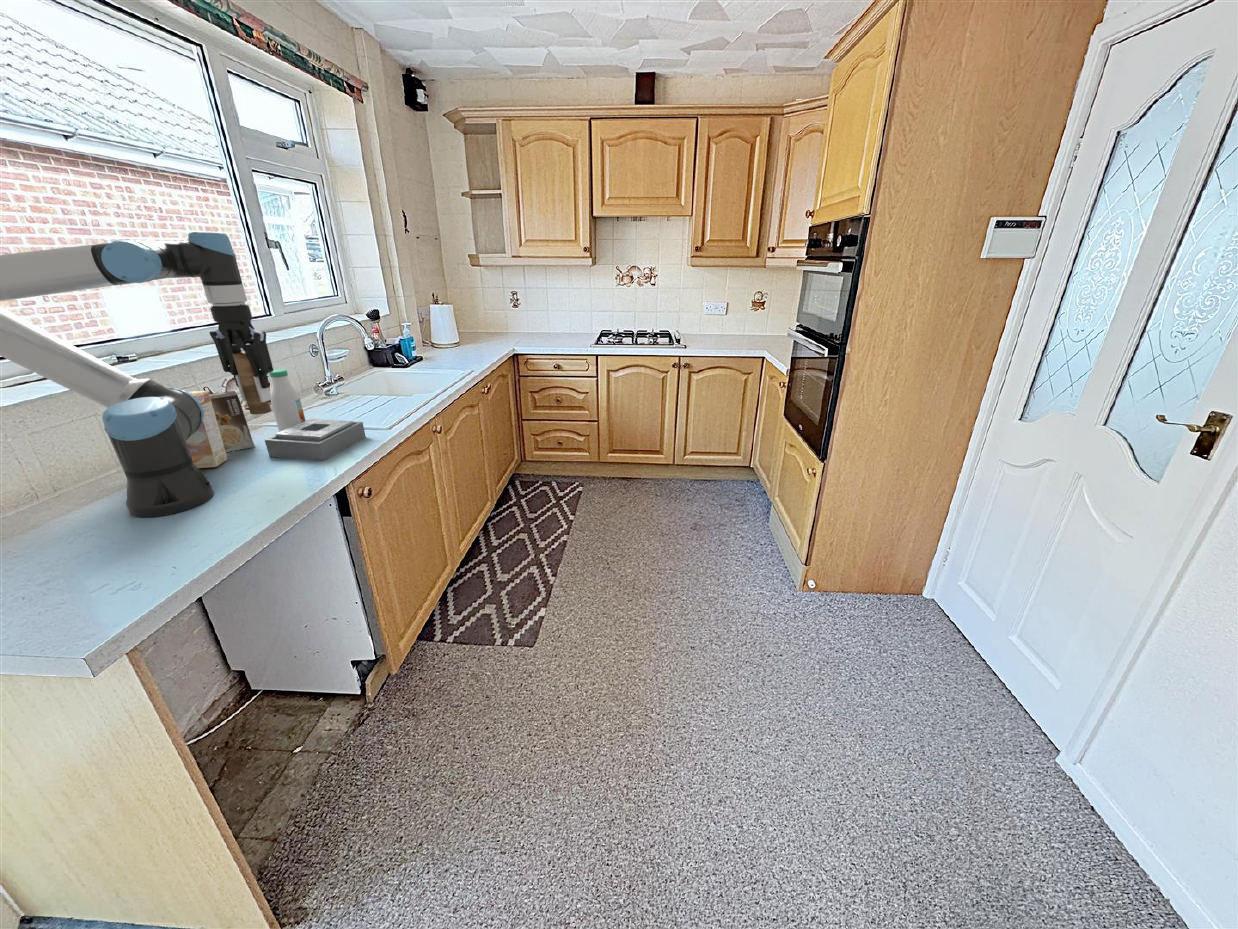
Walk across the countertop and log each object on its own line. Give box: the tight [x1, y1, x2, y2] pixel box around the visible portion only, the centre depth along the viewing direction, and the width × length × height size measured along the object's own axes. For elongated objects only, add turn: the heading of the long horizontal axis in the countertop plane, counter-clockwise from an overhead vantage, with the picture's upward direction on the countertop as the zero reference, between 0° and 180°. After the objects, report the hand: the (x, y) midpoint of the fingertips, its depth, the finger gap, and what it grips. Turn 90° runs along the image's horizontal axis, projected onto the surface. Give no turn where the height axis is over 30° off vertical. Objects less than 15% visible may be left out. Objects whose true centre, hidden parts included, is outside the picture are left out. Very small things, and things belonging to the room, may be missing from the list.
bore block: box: [274, 418, 353, 442], centre depth 147 cm, size 14×14×5 cm
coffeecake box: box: [186, 390, 228, 469], centre depth 131 cm, size 15×7×20 cm, turn 105°
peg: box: [232, 351, 272, 416], centre depth 125 cm, size 4×4×15 cm
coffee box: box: [209, 390, 255, 453], centre depth 144 cm, size 9×6×16 cm
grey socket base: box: [264, 420, 366, 461], centre depth 148 cm, size 19×17×5 cm
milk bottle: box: [268, 368, 306, 432], centre depth 155 cm, size 8×8×20 cm
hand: (257, 399), depth 127 cm, fingers closed on peg, 4 cm apart
